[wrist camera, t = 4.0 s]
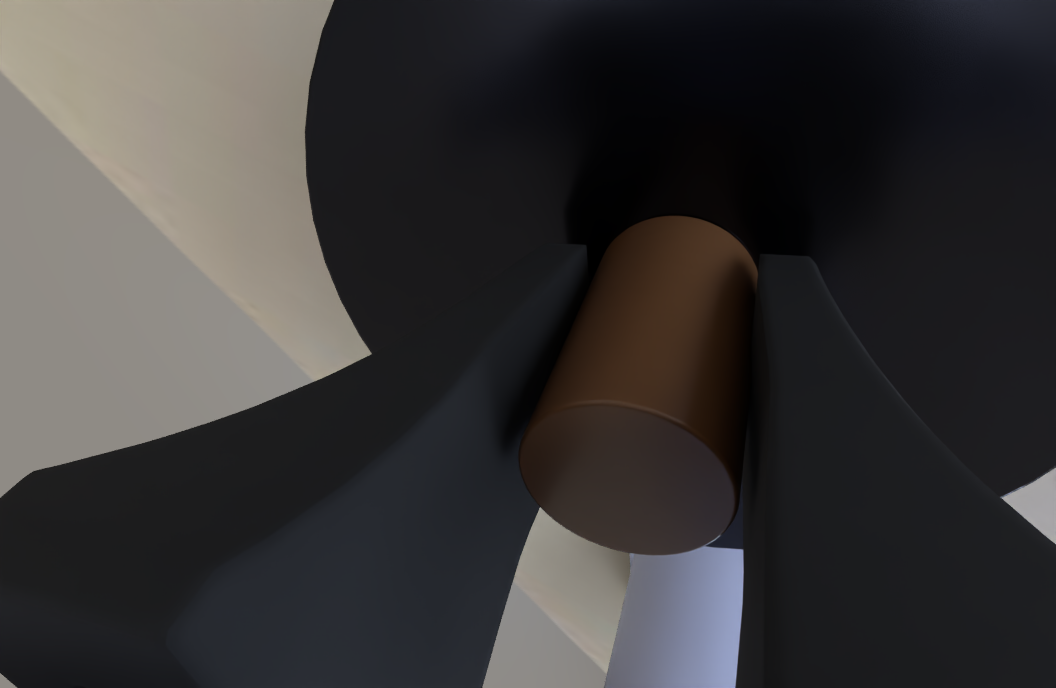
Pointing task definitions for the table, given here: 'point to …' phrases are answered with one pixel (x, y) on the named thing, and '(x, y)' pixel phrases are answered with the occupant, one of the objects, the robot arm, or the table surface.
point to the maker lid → (704, 217)
